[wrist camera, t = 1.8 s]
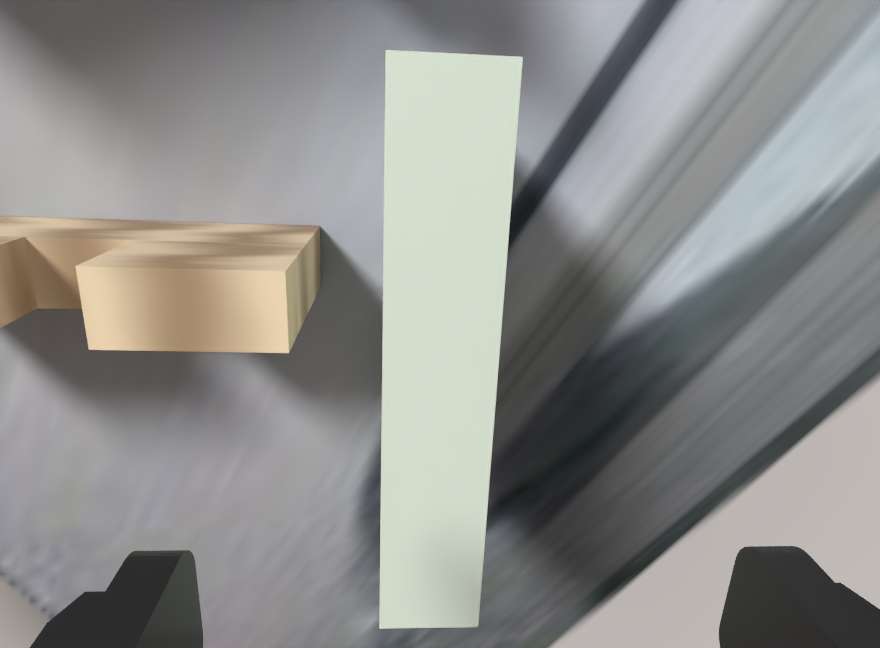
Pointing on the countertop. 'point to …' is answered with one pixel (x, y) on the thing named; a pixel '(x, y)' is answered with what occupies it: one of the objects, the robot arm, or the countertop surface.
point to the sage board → (442, 324)
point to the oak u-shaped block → (164, 281)
